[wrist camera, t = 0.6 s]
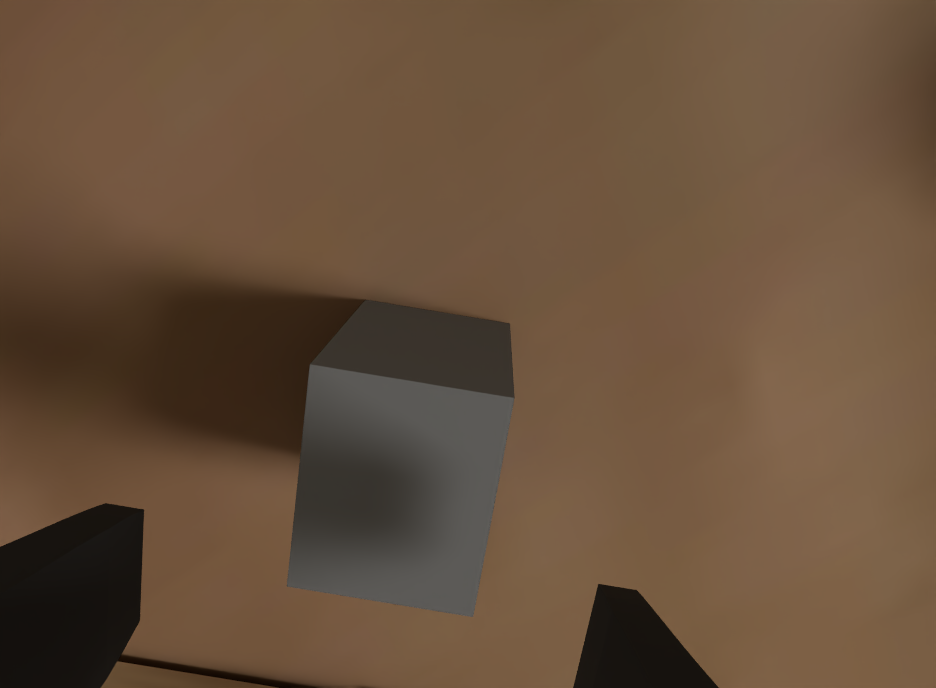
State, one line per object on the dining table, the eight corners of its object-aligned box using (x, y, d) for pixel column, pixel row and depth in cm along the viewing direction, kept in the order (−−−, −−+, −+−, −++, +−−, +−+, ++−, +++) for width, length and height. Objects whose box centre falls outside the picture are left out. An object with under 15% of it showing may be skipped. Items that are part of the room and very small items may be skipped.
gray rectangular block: (479, 486, 21) (472, 616, 15) (345, 464, 21) (286, 586, 15) (509, 323, 20) (514, 398, 14) (365, 299, 20) (309, 364, 14)
